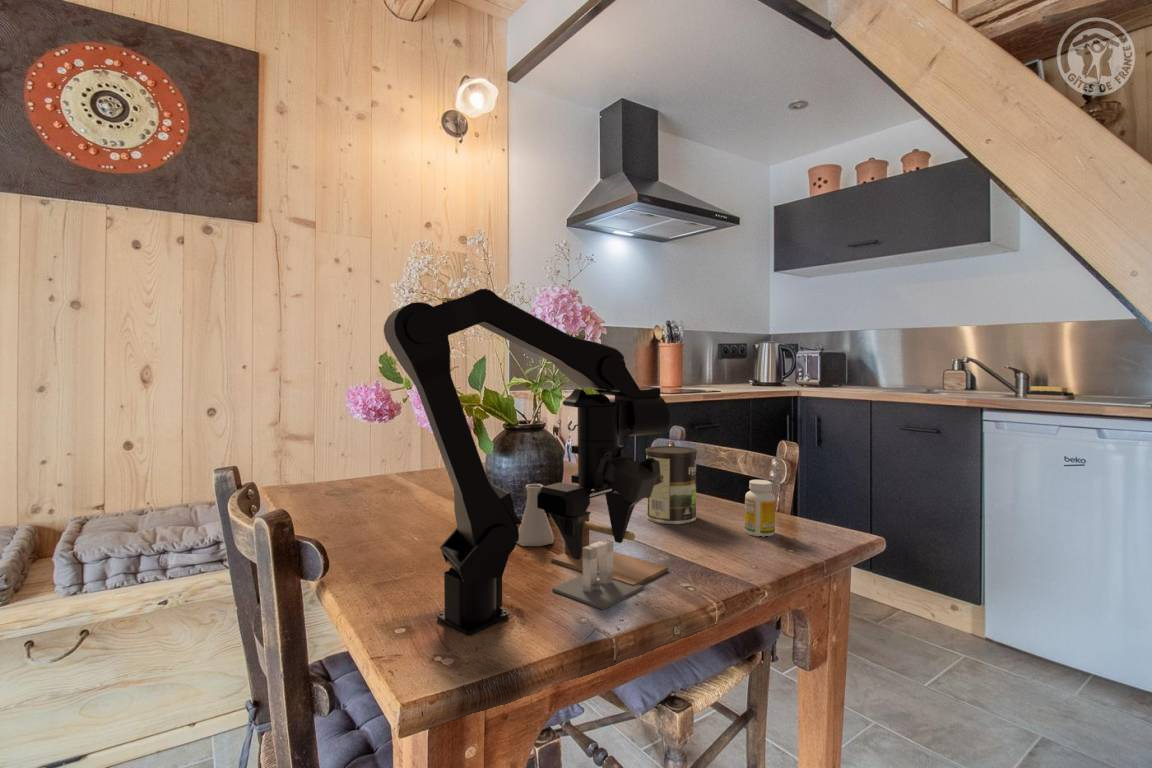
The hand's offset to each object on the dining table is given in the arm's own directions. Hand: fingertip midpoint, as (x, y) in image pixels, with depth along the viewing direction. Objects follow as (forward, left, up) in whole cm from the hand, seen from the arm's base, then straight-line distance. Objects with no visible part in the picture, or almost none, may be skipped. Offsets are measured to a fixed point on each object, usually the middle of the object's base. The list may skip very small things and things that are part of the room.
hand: (598, 550), depth 77 cm
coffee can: (+38, +12, -6) cm, 40 cm away
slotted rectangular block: (0, 0, -5) cm, 5 cm away
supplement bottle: (+40, -6, -6) cm, 41 cm away
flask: (+9, +22, -6) cm, 24 cm away
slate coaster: (0, 0, -6) cm, 6 cm away
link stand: (+8, +5, -6) cm, 11 cm away
